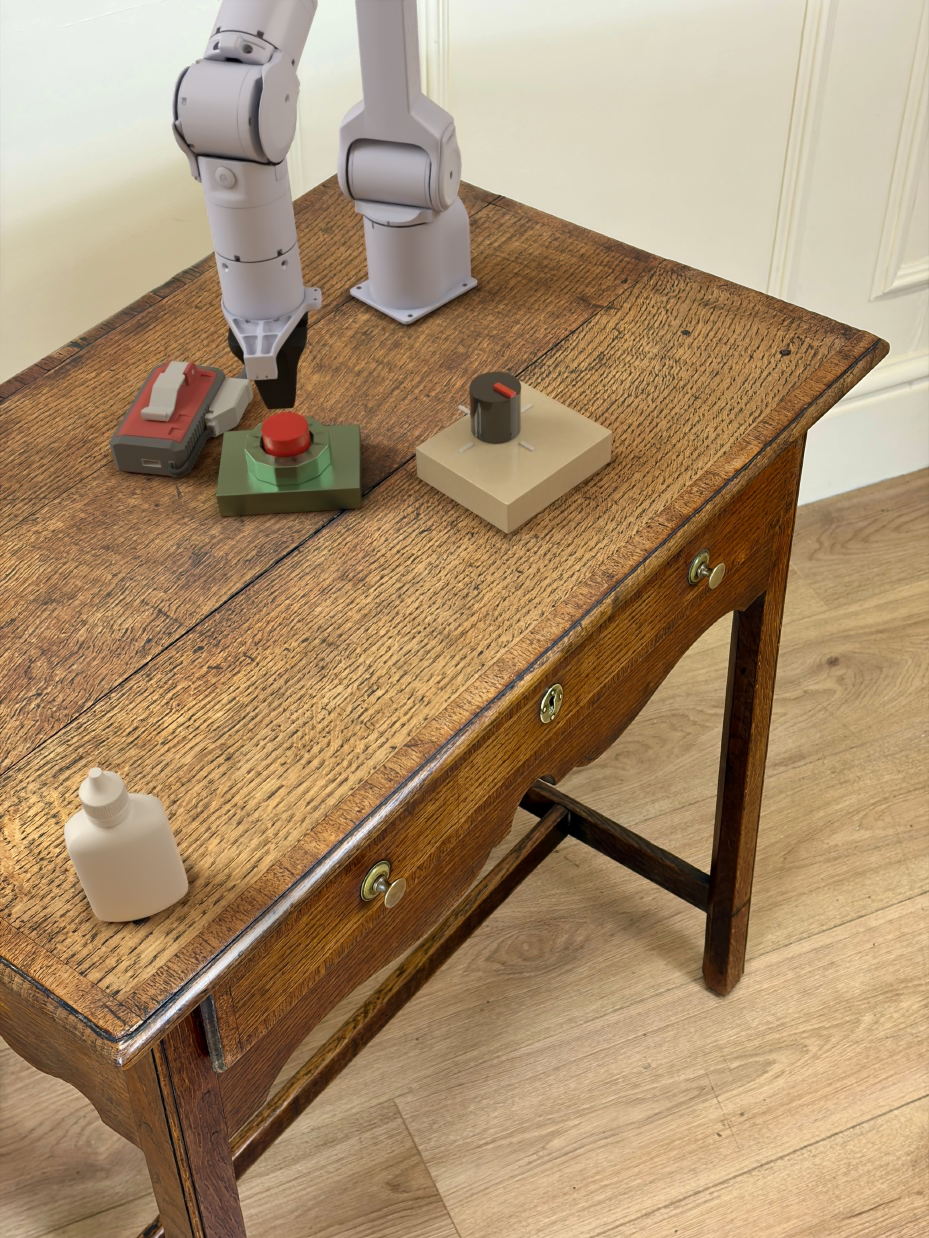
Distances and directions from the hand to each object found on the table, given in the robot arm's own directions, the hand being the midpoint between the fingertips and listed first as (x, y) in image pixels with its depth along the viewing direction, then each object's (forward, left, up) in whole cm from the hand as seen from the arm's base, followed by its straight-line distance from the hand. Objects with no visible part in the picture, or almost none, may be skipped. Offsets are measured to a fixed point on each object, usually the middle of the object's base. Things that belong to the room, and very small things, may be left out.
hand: (280, 403), depth 98 cm
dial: (-13, +10, -4) cm, 17 cm away
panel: (-13, +12, -8) cm, 19 cm away
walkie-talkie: (0, -13, -8) cm, 15 cm away
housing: (0, 0, -8) cm, 8 cm away
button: (0, 0, -4) cm, 4 cm away
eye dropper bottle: (+31, +23, -8) cm, 39 cm away
